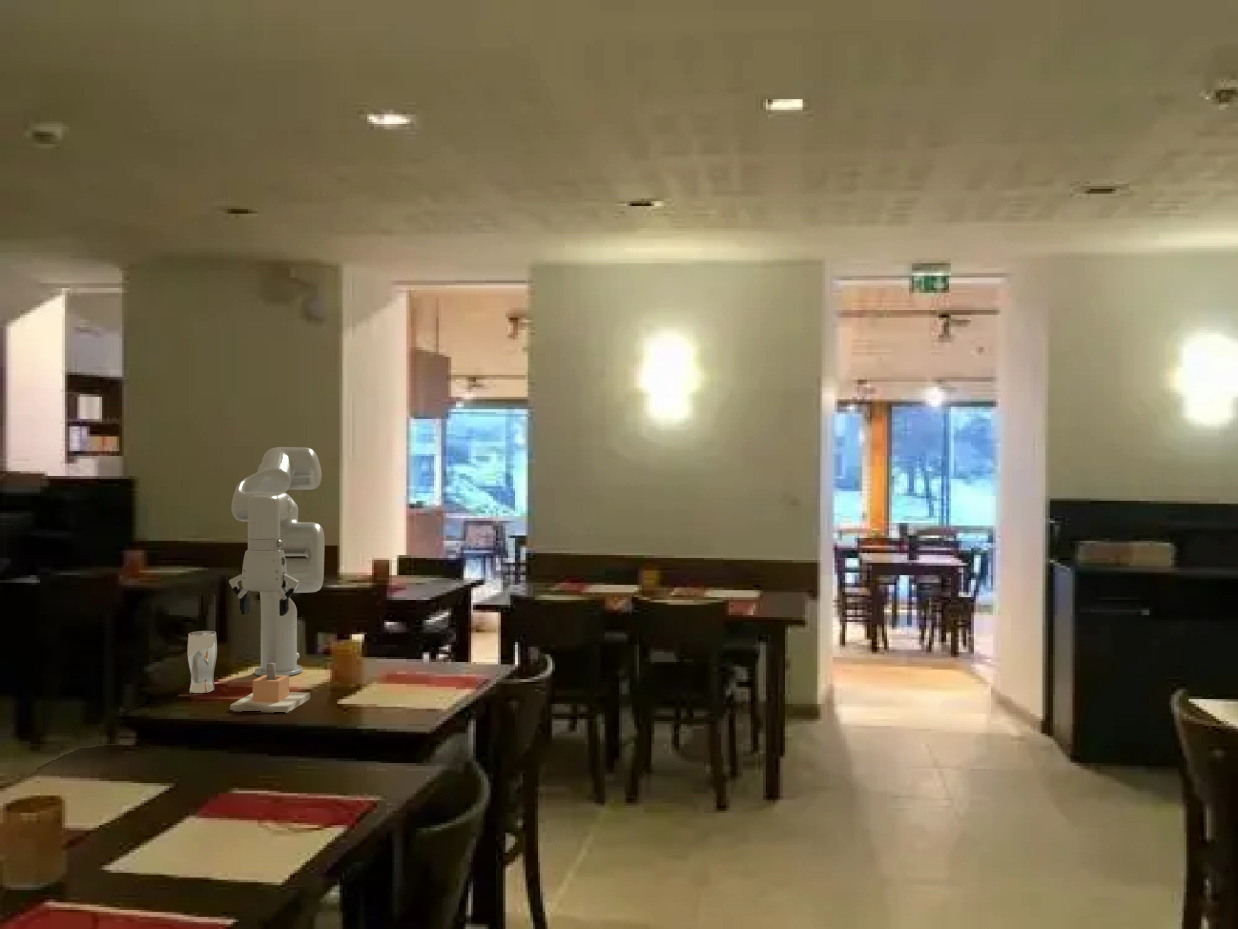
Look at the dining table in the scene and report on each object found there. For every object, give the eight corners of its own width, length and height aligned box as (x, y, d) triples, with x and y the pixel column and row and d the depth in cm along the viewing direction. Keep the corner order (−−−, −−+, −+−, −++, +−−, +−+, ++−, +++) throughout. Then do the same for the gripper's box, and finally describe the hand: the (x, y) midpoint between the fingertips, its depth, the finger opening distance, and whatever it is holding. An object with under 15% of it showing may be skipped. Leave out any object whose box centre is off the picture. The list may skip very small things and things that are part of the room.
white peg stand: (255, 697, 263) (255, 657, 263) (310, 698, 262) (310, 658, 261) (230, 711, 249) (230, 669, 249) (287, 713, 248) (287, 670, 247)
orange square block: (263, 695, 259) (263, 675, 259) (289, 696, 258) (289, 675, 258) (252, 701, 252) (252, 680, 252) (278, 702, 252) (278, 681, 252)
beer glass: (221, 689, 271) (221, 631, 271) (208, 695, 264) (208, 636, 264) (196, 688, 272) (196, 630, 272) (182, 694, 265) (182, 635, 265)
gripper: (304, 544, 261) (304, 612, 262) (236, 542, 262) (236, 610, 263) (292, 548, 254) (292, 618, 254) (223, 546, 255) (223, 616, 256)
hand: (264, 614), depth 259 cm, fingers open, 9 cm apart
